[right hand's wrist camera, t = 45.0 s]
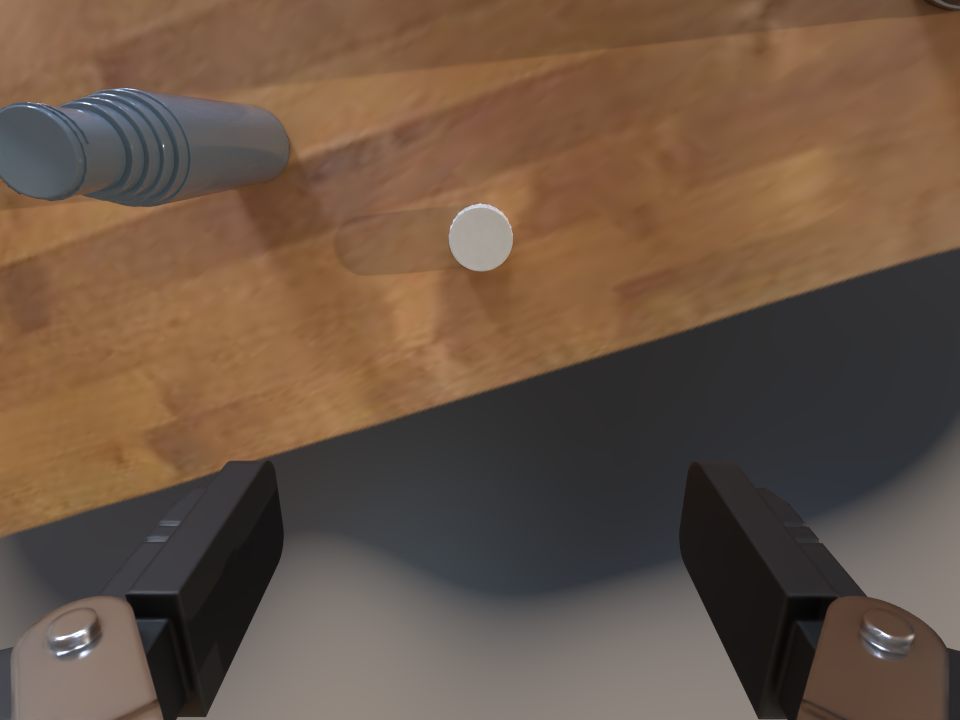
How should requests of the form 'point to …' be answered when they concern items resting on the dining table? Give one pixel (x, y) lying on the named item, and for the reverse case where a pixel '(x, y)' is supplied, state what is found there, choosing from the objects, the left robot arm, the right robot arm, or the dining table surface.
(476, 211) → the cap
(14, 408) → the dining table surface
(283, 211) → the dining table surface
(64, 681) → the right robot arm
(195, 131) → the bottle
